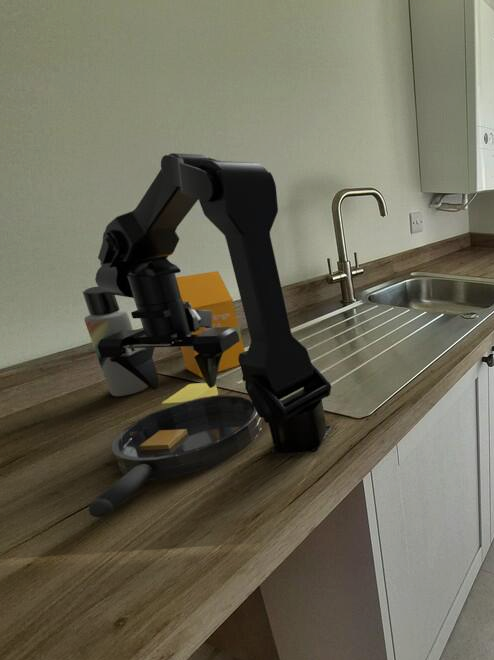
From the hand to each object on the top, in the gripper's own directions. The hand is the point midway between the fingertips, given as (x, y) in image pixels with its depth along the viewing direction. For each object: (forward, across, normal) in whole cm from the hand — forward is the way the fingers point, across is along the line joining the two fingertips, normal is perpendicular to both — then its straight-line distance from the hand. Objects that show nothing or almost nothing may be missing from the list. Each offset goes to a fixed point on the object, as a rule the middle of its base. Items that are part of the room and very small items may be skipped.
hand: (184, 387), depth 70 cm
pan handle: (+3, -8, +24) cm, 25 cm away
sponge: (+4, -1, 0) cm, 4 cm away
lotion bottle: (+4, +16, -8) cm, 18 cm away
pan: (+4, -8, +11) cm, 14 cm away
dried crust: (+3, -4, +11) cm, 12 cm away
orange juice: (+4, +6, -18) cm, 19 cm away
